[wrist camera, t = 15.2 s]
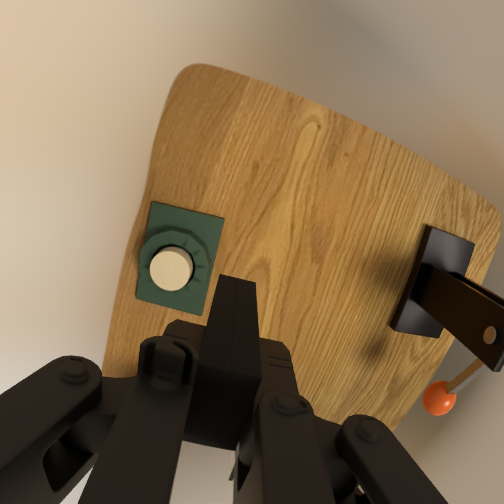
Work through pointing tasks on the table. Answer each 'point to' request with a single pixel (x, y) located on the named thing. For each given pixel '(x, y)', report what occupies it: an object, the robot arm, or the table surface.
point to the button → (171, 268)
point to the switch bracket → (451, 299)
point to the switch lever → (449, 389)
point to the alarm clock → (203, 475)
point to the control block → (191, 241)
